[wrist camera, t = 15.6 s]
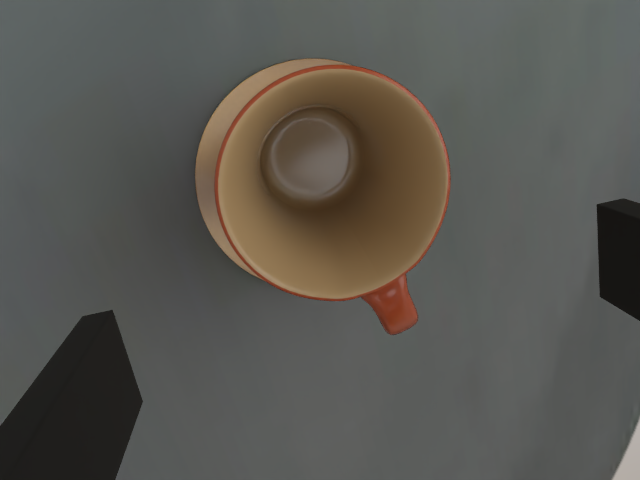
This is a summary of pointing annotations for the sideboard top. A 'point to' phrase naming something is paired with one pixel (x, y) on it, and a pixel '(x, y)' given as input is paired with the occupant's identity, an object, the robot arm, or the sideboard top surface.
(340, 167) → the mug
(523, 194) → the sideboard top surface
